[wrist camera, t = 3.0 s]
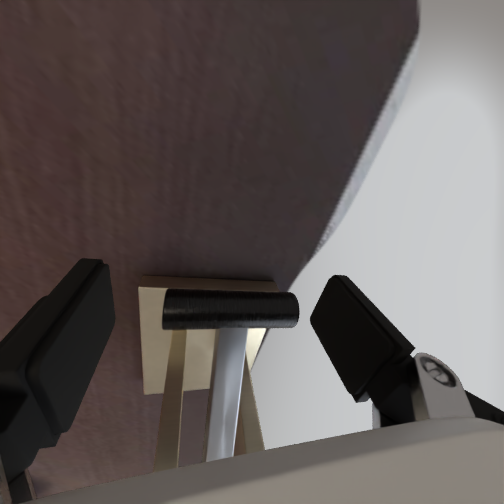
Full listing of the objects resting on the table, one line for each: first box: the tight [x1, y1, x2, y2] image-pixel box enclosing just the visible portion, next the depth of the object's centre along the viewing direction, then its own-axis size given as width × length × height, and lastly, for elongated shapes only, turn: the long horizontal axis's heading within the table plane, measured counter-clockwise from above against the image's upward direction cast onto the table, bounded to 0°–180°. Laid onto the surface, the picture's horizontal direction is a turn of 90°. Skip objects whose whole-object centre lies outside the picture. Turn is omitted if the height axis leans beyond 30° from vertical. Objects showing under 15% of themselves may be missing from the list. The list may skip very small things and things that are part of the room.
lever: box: [162, 288, 299, 463], centre depth 9 cm, size 12×5×2 cm, turn 167°
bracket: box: [138, 275, 280, 472], centre depth 12 cm, size 12×9×12 cm
